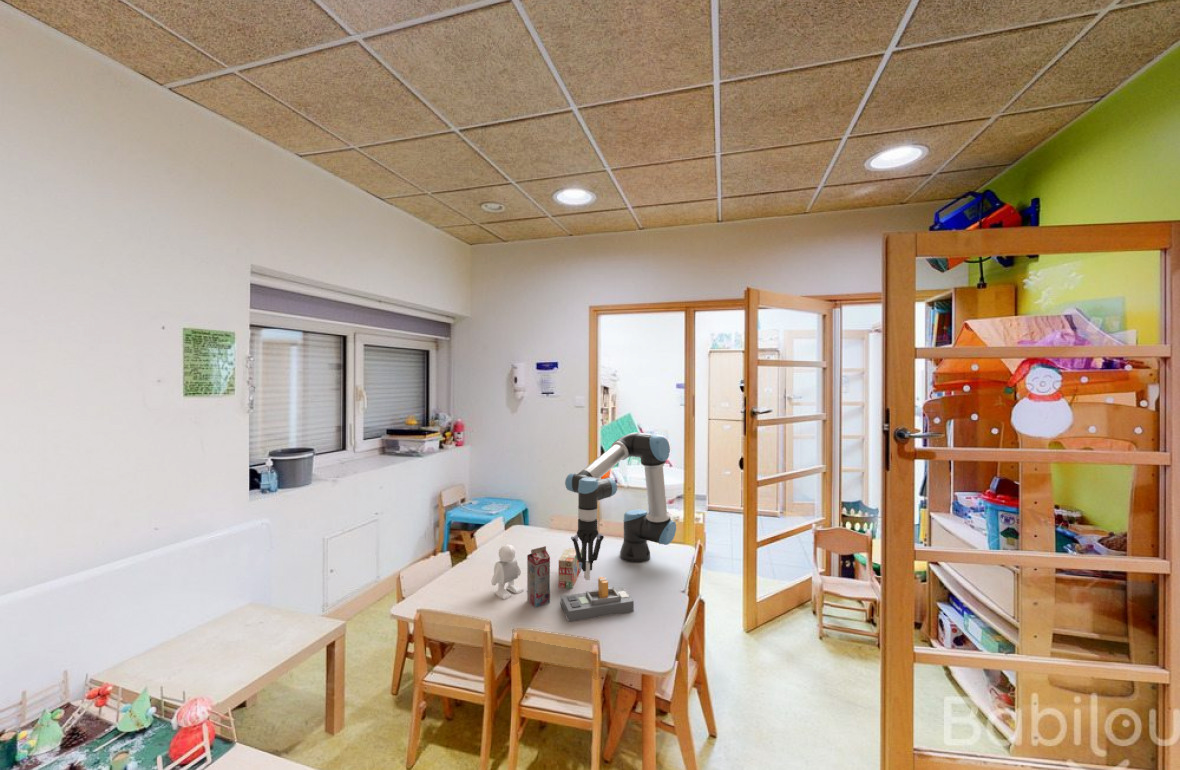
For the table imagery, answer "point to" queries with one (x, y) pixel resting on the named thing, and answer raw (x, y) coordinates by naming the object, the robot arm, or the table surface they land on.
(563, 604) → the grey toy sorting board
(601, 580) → the breaker lever
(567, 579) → the stack of blocks
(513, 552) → the toy robot
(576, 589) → the table surface
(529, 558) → the juice carton
